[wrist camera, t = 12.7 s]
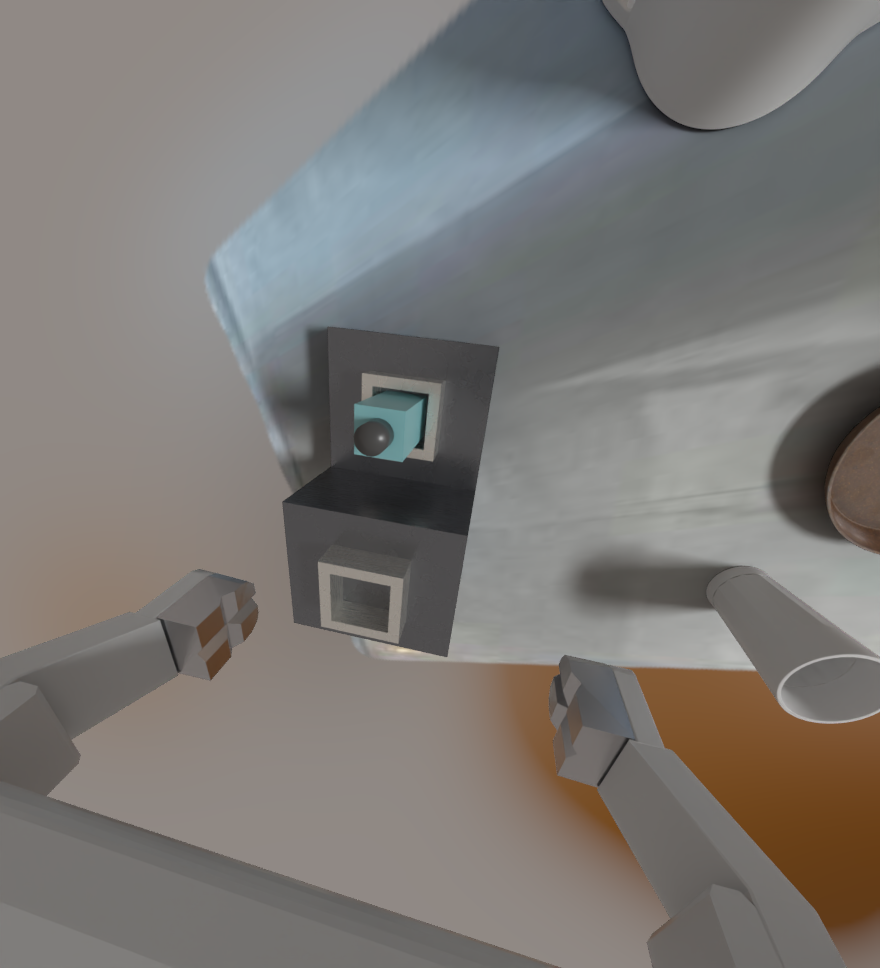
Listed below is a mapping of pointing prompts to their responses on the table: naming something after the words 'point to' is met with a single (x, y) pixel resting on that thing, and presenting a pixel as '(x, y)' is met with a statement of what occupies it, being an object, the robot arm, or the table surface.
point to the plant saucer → (857, 485)
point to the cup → (797, 649)
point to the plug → (389, 425)
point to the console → (392, 495)
